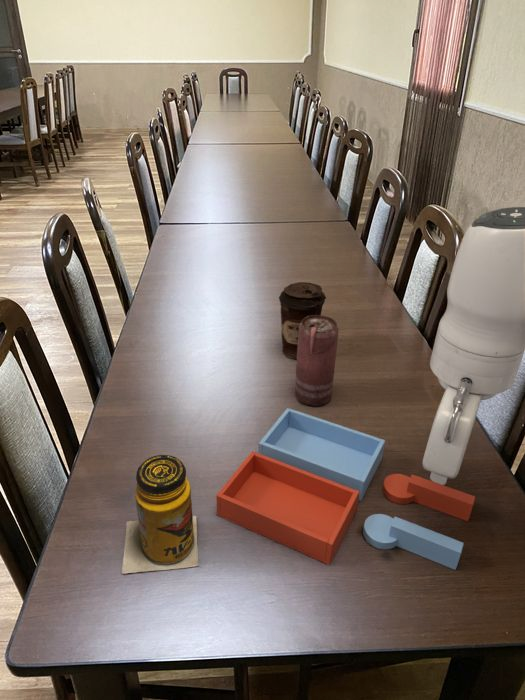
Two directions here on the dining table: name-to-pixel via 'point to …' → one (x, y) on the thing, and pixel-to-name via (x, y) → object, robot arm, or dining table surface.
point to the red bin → (288, 505)
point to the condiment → (161, 519)
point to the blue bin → (324, 449)
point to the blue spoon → (411, 539)
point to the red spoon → (428, 495)
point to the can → (316, 359)
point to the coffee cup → (298, 311)
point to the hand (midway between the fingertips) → (446, 454)
